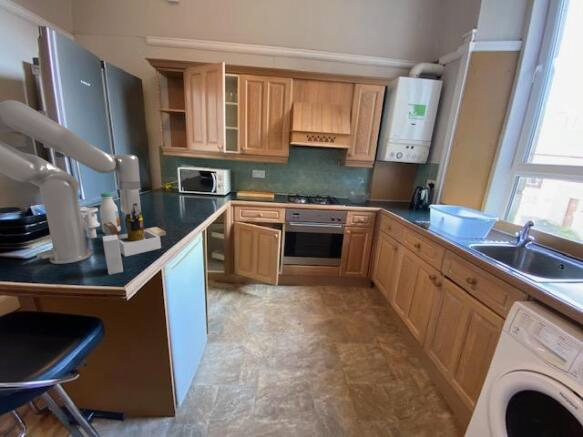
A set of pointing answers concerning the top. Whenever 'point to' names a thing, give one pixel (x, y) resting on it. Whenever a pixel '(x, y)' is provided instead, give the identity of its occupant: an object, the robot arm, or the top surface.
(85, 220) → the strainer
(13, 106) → the robot arm
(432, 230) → the top surface
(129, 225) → the condiment
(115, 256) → the skincare box
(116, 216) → the milk bottle
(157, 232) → the board
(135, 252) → the bin
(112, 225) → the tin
